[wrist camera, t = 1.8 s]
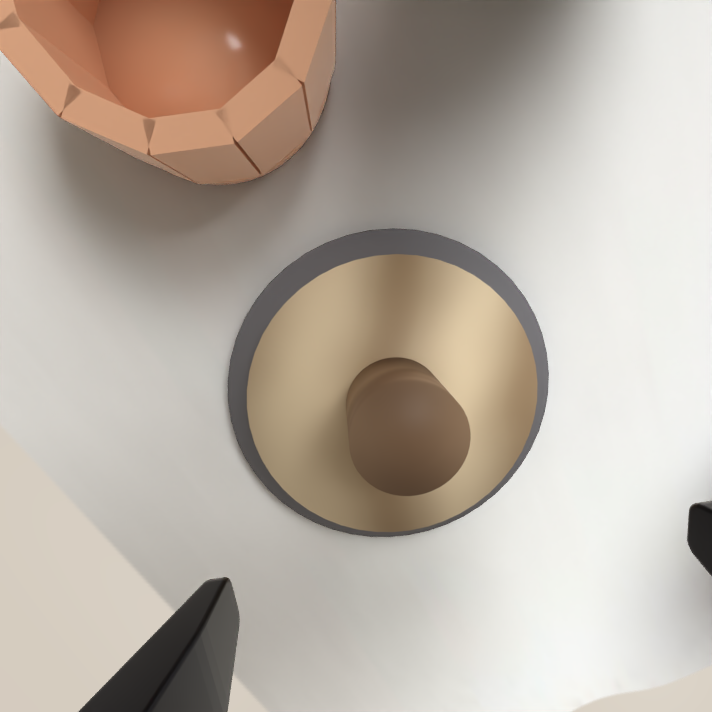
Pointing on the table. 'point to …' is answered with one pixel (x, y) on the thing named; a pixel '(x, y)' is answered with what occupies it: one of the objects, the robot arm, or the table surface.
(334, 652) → the table surface
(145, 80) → the bowl
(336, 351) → the lid
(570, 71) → the table surface
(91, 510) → the table surface
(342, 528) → the mat
